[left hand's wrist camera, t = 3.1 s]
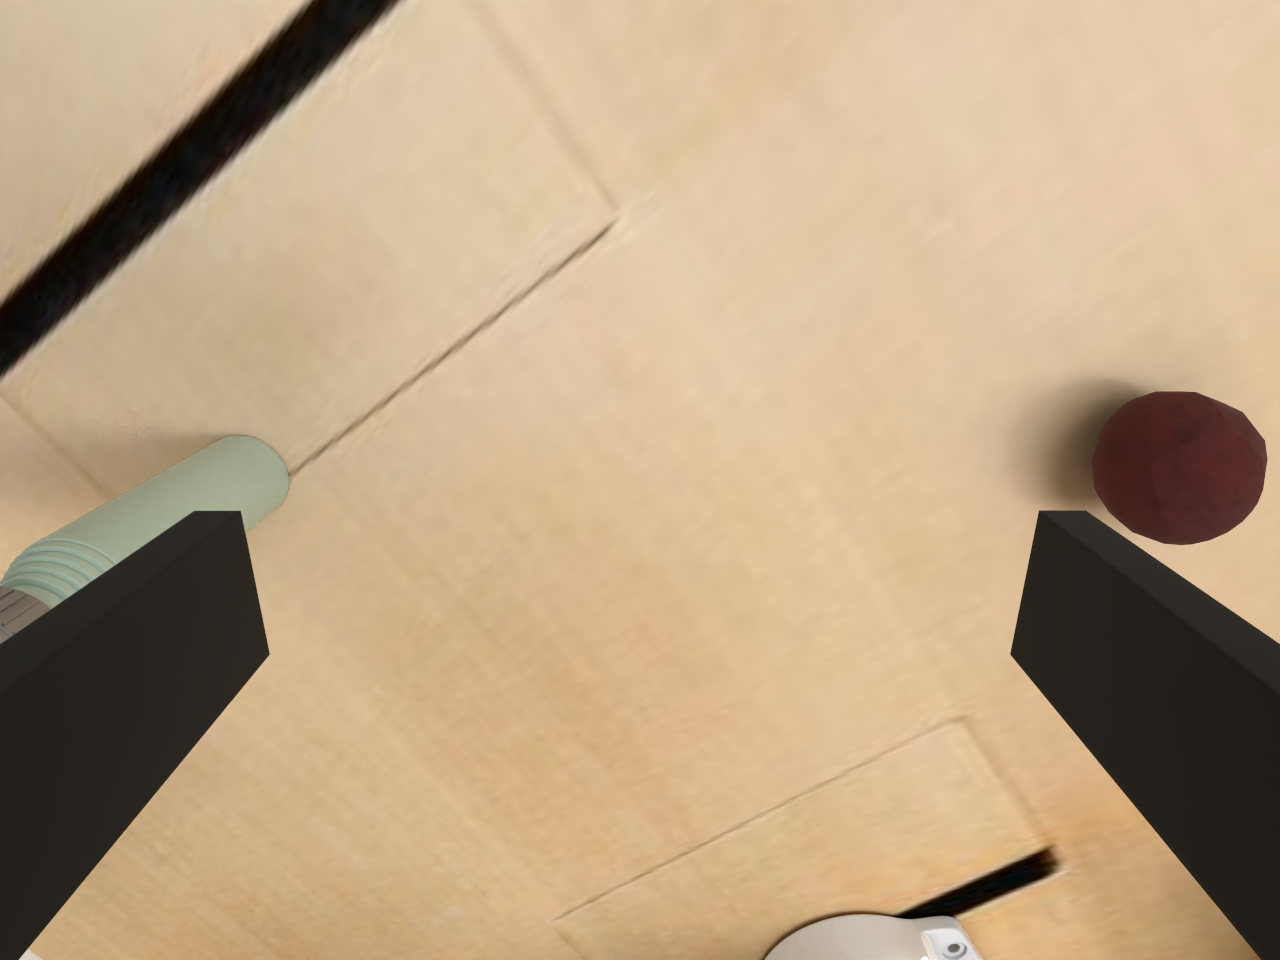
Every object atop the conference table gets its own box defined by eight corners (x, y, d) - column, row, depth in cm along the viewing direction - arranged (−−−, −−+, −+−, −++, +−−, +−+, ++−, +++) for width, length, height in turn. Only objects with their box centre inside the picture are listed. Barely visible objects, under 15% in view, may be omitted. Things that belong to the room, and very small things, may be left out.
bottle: (301, 507, 42) (71, 712, 25) (221, 521, 43) (-59, 733, 25) (272, 428, 41) (4, 590, 24) (189, 442, 41) (-133, 613, 24)
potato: (1095, 532, 43) (1179, 592, 36) (1041, 423, 40) (1119, 466, 34) (1222, 464, 41) (1333, 514, 35) (1173, 348, 39) (1282, 377, 32)
